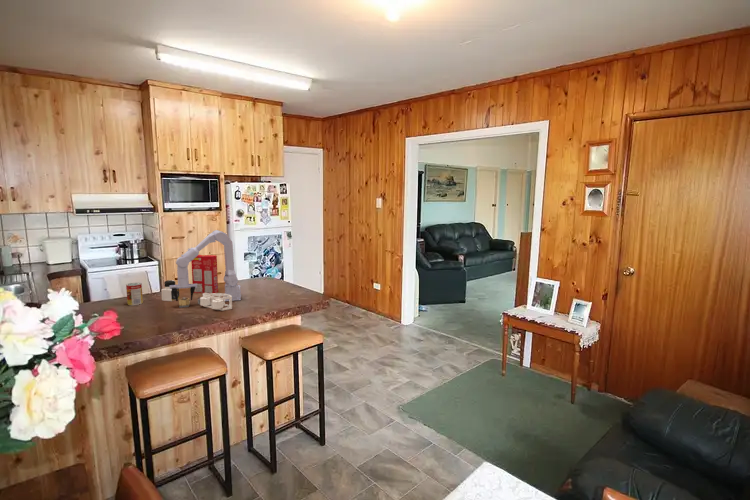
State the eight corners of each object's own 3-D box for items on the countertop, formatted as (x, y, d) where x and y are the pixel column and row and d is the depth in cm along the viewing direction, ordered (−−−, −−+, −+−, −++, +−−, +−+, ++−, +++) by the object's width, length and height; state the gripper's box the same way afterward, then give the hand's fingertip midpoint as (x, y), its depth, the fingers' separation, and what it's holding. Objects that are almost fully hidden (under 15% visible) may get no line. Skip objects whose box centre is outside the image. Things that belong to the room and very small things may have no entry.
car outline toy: (196, 307, 235) (195, 294, 234) (212, 302, 244) (212, 291, 243) (219, 312, 225) (218, 299, 223) (235, 308, 234) (234, 295, 233)
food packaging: (218, 292, 269) (216, 255, 266) (214, 294, 264) (212, 256, 260) (197, 291, 271) (195, 254, 267) (193, 293, 265) (191, 255, 262)
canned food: (139, 301, 245) (137, 281, 243) (145, 303, 240) (144, 283, 239) (125, 303, 239) (123, 284, 237) (131, 306, 234) (129, 286, 232)
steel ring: (206, 301, 246) (206, 296, 246) (209, 303, 242) (209, 298, 242) (196, 303, 242) (196, 297, 242) (200, 305, 238) (200, 299, 238)
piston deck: (189, 304, 240) (189, 296, 239) (188, 306, 234) (188, 298, 233) (180, 304, 238) (180, 296, 237) (179, 307, 232) (178, 299, 232)
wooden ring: (190, 302, 240) (189, 297, 239) (189, 305, 234) (189, 299, 234) (179, 303, 238) (179, 298, 237) (178, 305, 232) (178, 300, 232)
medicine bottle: (171, 301, 245) (170, 282, 244) (161, 300, 247) (160, 281, 245) (179, 298, 252) (178, 279, 251) (169, 297, 254) (168, 279, 252)
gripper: (197, 275, 240) (198, 297, 242) (170, 276, 235) (171, 299, 237) (196, 277, 233) (197, 300, 235) (168, 279, 228) (169, 302, 230)
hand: (184, 300), depth 236 cm, fingers open, 7 cm apart
